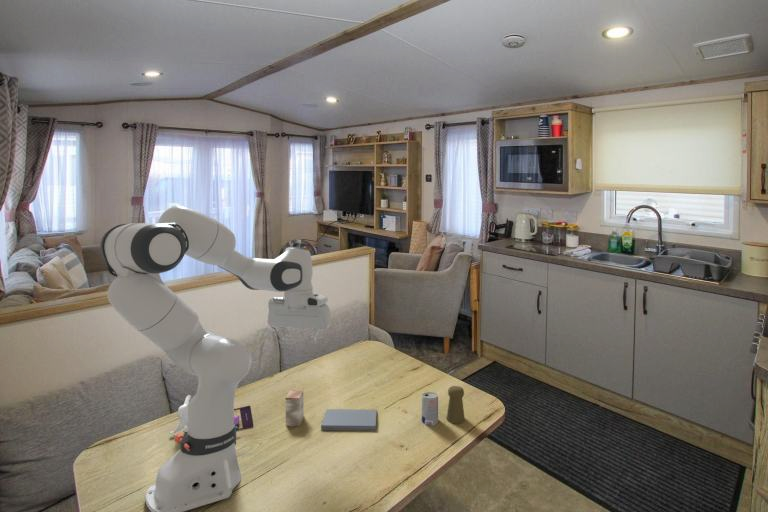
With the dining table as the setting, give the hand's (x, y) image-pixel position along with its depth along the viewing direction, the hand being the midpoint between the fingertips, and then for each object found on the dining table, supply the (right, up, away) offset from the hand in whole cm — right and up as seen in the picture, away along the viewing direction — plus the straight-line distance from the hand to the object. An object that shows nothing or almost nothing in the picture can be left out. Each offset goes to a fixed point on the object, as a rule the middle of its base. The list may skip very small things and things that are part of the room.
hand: (299, 341), depth 135 cm
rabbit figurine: (-33, -27, -1) cm, 43 cm away
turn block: (-2, -27, +3) cm, 27 cm away
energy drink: (+42, -30, +4) cm, 52 cm away
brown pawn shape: (+51, -27, +5) cm, 58 cm away
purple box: (-16, -25, +2) cm, 30 cm away
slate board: (+16, -27, +3) cm, 31 cm away
